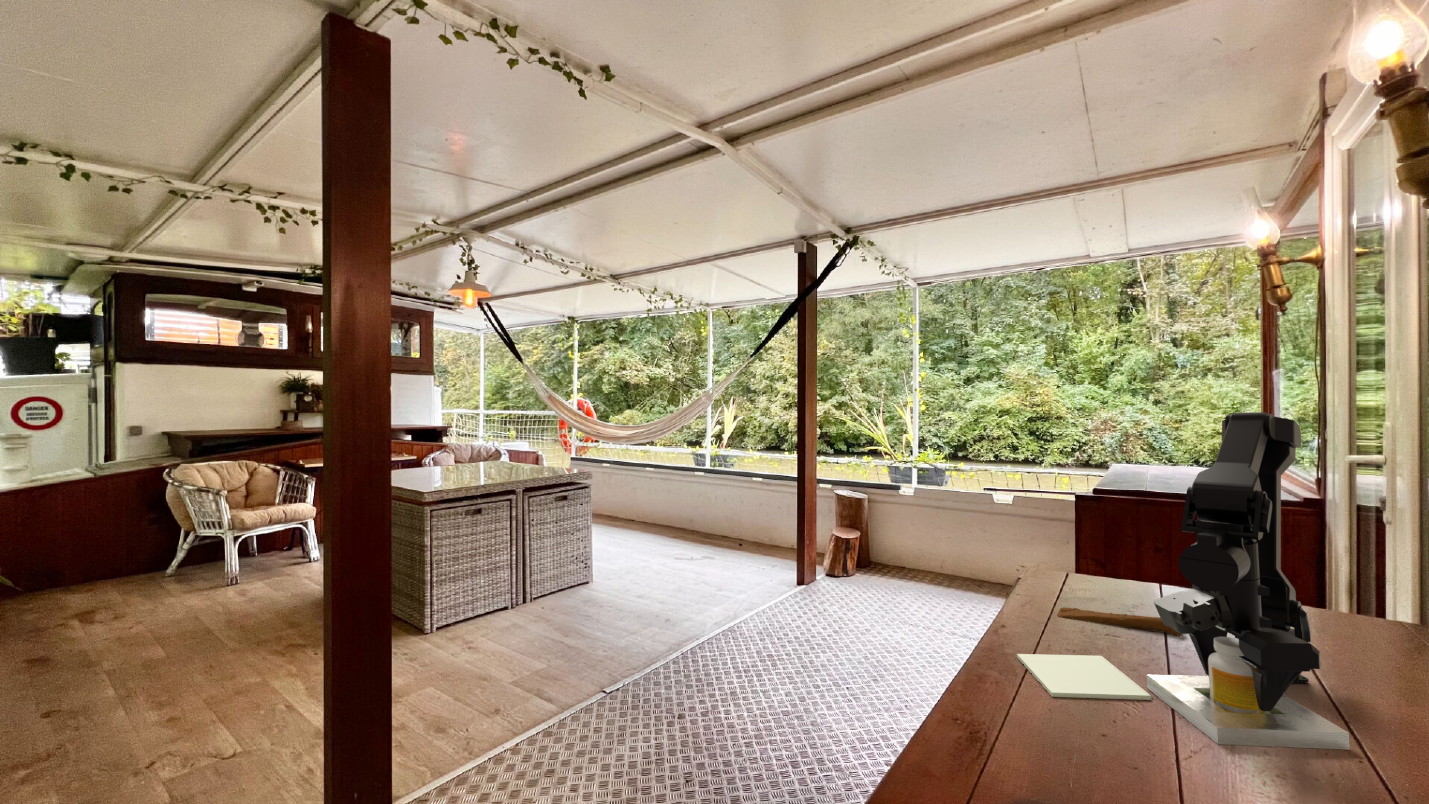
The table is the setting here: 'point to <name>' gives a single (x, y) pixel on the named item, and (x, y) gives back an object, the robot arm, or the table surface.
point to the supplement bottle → (1231, 678)
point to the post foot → (1247, 717)
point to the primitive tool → (1117, 619)
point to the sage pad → (1081, 677)
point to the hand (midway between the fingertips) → (1236, 692)
